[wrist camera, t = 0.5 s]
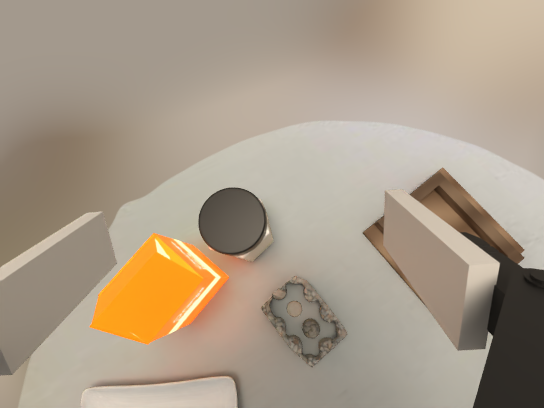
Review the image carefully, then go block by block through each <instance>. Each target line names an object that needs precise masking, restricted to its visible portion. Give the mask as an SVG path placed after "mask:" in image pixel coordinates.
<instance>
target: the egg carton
mask: <svg viewBox="0 0 544 408" xmlns="http://www.w3.org/2000/svg"><path fill="white" fill-rule="evenodd" d="M288 282H291V283H292V284H299V283H301V284H303V285H304V286H305V288H304V291H303V294H304V297H305V298H306V300H308V301H309V302H315V301H317V300H318V301H319V303H320V304H321V307H320V314H321V316H322V318H323V319H324V320H325V321H326V322H332V321H335V322H336V332H337V334H338V335H337V336H336V337H335V338H334V339H331V338H322V339H321V340H320V342H319V349H320V351H321V353H320V354H319V355H318V356H314V355H312V354H307V355H303V354H302V353H301V351H302V343H301V340H300V338H299V337H297V336H296V335H291V336H288V335H287V334H286V329H285V327H286V325H285V321H284V320H283V319H282V318H281V317H275V316H274V315H273V314H272V312H271V310H270V302H271V300H272V298H274V299H277V300H281V299H283V298H284V297H285V296H286V293H287V289H286V286H285V285H286V284H287V283H288ZM288 282H287V283H286V284H285V285H284V286H283V287H282V288H281V289H278V290H277V291H275V292H274V293H273V294H272V295H273V296H272V297H271V298H270V300H269V301H267V302H266V303H265V304H264V305H263V306H262V307H261V308H262V311H263V312H264V313H265V315H266V316H267V317H268V319H269V320H270V322H271V323H272V324H273V326H274V327H275V328H276V330H277V331H278V332H279V334H280V335H281V336H282V338H283V339H284V340H285V342H286V343H287V344H288V346H289V347H290V348H291V349H292V350H293V351H294V352H295V353H296V354H297V355H298V356H300V357H301V358H302V359H303V360H304V361H305V362H306V363H307V364H308V365H309V366H311V367H313V366H314V365H315V364H316V363H317V362H318V361H319V360H321V359H322V358H323V357H324V356H325V355H326V354H327V353H329V352H330V351H331V350H332V349H333V348H334V347H335V346H336V345H338V343H339V342H340V341H341V340H343V339H344V338H345V336H346V335H347V332H346V330H345V328H344V327H343V325H342V324H341V322H340V321H339V320H338V319H337V317H336V316H335V315H334V313H333V312H332V311H331V310H330V309H329V307H328V306H327V304H326V303H325V302H324V301H323V300H322V298H321V297H320V296H319V295H318V293H317V292H316V291H315V290H314V288H313V287H312V286H311V285H310V284H309V283H308V282H307V281H306V280H304V279H301V278H299V277H297V276H294V277H293V278H292V279H291V280H290V281H288ZM287 312H288V314H289V315H290V316H292V317H297V316H299V315H300V314H301V312H302V306H301V304H300V303H299V302H297V301H291V302H289V304H288V306H287ZM302 330H303V332H304V334H305V335H306V337H308V338H315V337H317V336H318V335H319V332H320V327H319V324H318V323H317V322H316V321H315V320H313V319H307V320H305V321H304V323H303V328H302Z"/></svg>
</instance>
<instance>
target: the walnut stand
mask: <svg viewBox="0 0 544 408" xmlns="http://www.w3.org/2000/svg"><path fill="white" fill-rule="evenodd" d="M410 196H412V197H413V198H414V199H416V200H417V201H418V202H420V203H421V204H422V205H424V206H425V207H426V208H428V209H429V210H430V211H432V212H433V213H434V214H436V215H437V216H438V217H440V218H441V219H442V220H444V221H445V222H446V223H447V224H449V225H450V226H451V227H453V228H454V229H455V230H457V231H458V232H467V233H469V234H472V235H474V236H477V237H479V238H481V239H483V240H484V241H485V242H487V243H488V244H490V246H492V247H494V248H495V249H497V250H498V251H499V253H502V254H504V255H505V256H507V257H508V258H509V259H511V260H512V261H514V262H515V263H517V264H518V263H519V262H520V261H522V260H523V259H524V257H523V256H522V255H521V253H522V252H523V251H524V249H523V248H522V247H521V246H520V245H519V244H518V243H517V242H516V241H515V240H514V239H513V238H512V237H511V236H510V235H509V234H508V233H507V232H506V231H505V230H504V229H503V228H502V227H501V226H500V225H499V224H498V223H497V222H496V221H495V220H494V219H493V218H492V217H491V216H490V215H489V214H488V213H487V212H486V211H485V210H484V209H483V208H482V207H481V206H480V205H479V204H478V203H477V202H476V201H475V199H474V198H473V197H472V196H471V195H470V194H469V193H468V192H467V191H466V190H465V189H464V188H463V187H462V186H461V185H460V184H459V183H458V182H457V181H456V180H455V179H454V178H453V177H452V176H451V175H450V174H449V173H448V172H447V171H446V170H445V169H444V168H442V169H440V170H439V171H438V172H437V173H435V174H434V175H433V176H432V177H431V178H429V179H428V180H427V181H426V182H424V183H423V184H422V185H421V186H420V187H418V188H417V189H416V190H415V191H413V192H412V193H411V194H410ZM363 234H364V235H365V236H366V237H367V238H368V240H369V241H370V242H371V243H372V244H373V245H374V247H375V248H376V249H377V250H378V251H379V252H380V253H381V255H382V256H383V257H384V258H385V259H386V260H387V262H388V263H389V264H390V265H391V266H392V267H393V268H394V270H395V271H396V272H397V273H398V274H399V275H400V277H401V278H402V279H403V280H404V281H405V282H406V283H407V285H408V286H409V287H410V288H411V289H412V290H413V292H414V293H415V294H416V295H417V296H418V297H419V295H418V294H417V292H416V291H415V289H414V288H413V287H412V285H411V284H410V282H409V281H408V280H407V278H406V277H405V275H404V274H403V272H402V271H401V270H400V268H399V267H398V265H397V264H396V263H395V261H394V260H393V258H392V257H391V256H390V254H389V253H388V251H387V250H386V248H385V247H384V246H383V236H384V216H383V217H381V218H380V219H379V220H378V221H377V222H375V223H374V224H373V225H372V226H370V227H369V228H368V229H367V230H365V231H364V232H363ZM419 299H420V300H421V301H422V299H421V298H420V297H419ZM422 302H423V301H422ZM423 303H424V302H423ZM426 307H427V306H426Z"/></svg>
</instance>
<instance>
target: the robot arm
mask: <svg viewBox="0 0 544 408" xmlns="http://www.w3.org/2000/svg"><path fill="white" fill-rule="evenodd" d="M383 246H384V247H385V248H386V250H387V251H388V253H389V254H390V256H391V257H392V258H393V260H394V261H395V263H396V264H397V265H398V267H399V268H400V270H401V271H402V272H403V274H404V275H405V277H406V278H407V280H408V281H409V282H410V284H411V285H412V287H413V288H414V289H415V291H416V292H417V294H418V295H419V297H420V298H421V299H422V301H423V302H424V304H425V305H426V306H427V308H428V309H429V311H430V312H431V313H432V315H433V316H434V318H435V319H436V321H437V322H438V323H439V325H440V326H441V328H442V329H443V330H444V332H445V333H446V335H447V336H448V338H449V339H450V340H451V342H452V343H453V345H454V346H455V347H456V349H457V350H474V349H485V347H486V341H487V335H488V331H489V332H490V333H491V334H492V336H493V339H492V343H491V346H490V350H489V353H488V357H487V360H486V364H485V367H484V371H483V374H482V378H481V381H480V385H479V388H478V392H477V395H476V399H475V402H474V406H473V408H544V270H539V269H533V268H522V267H521V266H519V265H518V264H517V263H515V262H514V261H512V260H511V259H509V258H508V257H507V256H505V255H504V254H502V253H499V251H498V250H497V249H495V248H494V247H492V246H490V244H488V243H487V242H485V241H484V240H483V239H481V238H479V237H477V236H474V235H472V234H469V233H467V232H458V231H457V230H455V229H454V228H453V227H451V226H450V225H449V224H447V223H446V222H445V221H444V220H442V219H441V218H440V217H438V216H437V215H436V214H434V213H433V212H432V211H430V210H429V209H428V208H426V207H425V206H424V205H422V204H421V203H420V202H418V201H417V200H416V199H414V198H413V197H412V196H410V195H409V194H408V193H406V192H405V191H404V190H403V189H399V190H386V191H385V208H384V236H383ZM116 264H117V261H116V258H115V254H114V250H113V247H112V243H111V239H110V236H109V232H108V229H107V225H106V222H105V218H104V214H103V212H91V213H86V214H84V215H83V216H81V217H79V218H78V219H76V220H75V221H73V222H72V223H70V224H68V225H67V226H65V227H64V228H62V229H60V230H59V231H57V232H56V233H54V234H52V235H51V236H49V237H48V238H46V239H44V240H43V241H41V242H40V243H38V244H36V245H35V246H33V247H32V248H30V249H29V250H27V251H25V252H24V253H22V254H21V255H19V256H17V257H16V258H14V259H13V260H11V261H9V262H8V263H6V264H5V265H3V266H1V267H0V375H12V374H13V373H14V372H15V371H16V370H17V369H18V368H19V367H20V366H21V365H22V364H23V363H24V362H25V360H26V359H27V358H29V356H30V355H31V354H32V353H33V352H34V351H35V350H36V349H37V348H38V347H39V346H40V345H41V344H42V343H43V342H44V340H45V339H46V338H47V337H48V336H49V335H50V334H51V333H52V332H53V331H54V330H55V329H56V328H57V327H58V326H59V325H60V323H61V322H62V321H63V320H64V319H65V318H66V317H67V316H68V315H69V314H70V313H71V312H72V311H73V310H74V309H75V308H76V306H77V305H78V304H79V303H80V302H81V301H82V300H83V299H84V298H85V297H86V296H87V295H88V294H89V293H90V292H91V290H92V289H93V288H94V287H95V286H96V285H97V284H98V283H99V282H100V281H101V280H102V279H103V278H104V277H105V276H106V275H107V273H108V272H109V271H110V270H111V269H112V268H113V267H114V266H115V265H116Z"/></svg>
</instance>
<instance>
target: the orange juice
mask: <svg viewBox="0 0 544 408" xmlns="http://www.w3.org/2000/svg"><path fill="white" fill-rule="evenodd" d="M228 278H229V277H228V276H227V275H226V274H225V273H224V272H223V271H221V270H220V269H219V268H218V267H217V266H216V265H215V264H214V263H212V262H211V261H210V260H209V259H208V258H207V257H206V256H205V255H203V254H202V253H201V252H200V251H199V250H198V249H197V248H196V247H194V246H193V245H190V244H187V243H184V242H181V241H179V240H175V239H171V238H168V237H165V236H161V235H158V234H155V233H153V234H152V236H151V237H150V238H149V239H148V240H147V241H146V242H145V243H144V245H143V246H142V247H141V248H140V249H139V250H138V251H137V252H136V253H135V255H134V256H133V257H132V258H131V259H130V260H129V261H128V262H127V263H126V265H125V266H124V267H123V268H122V269H121V270H120V271H119V272H118V274H117V275H116V276H115V277H114V278H113V279H112V280H111V281H110V282H109V284H108V285H107V286H106V287H105V288H104V289H103V290H102V291H101V292H100V294H99V295H98V296H99V297H98V301H97V305H96V309H95V313H94V317H93V321H92V324H91V325H90V327H91V328H94V329H98V330H101V331H104V332H108V333H111V334H114V335H118V336H121V337H124V338H128V339H131V340H135V341H138V342H141V343H145V344H149V343H150V342H152V341H154V340H156V339H158V338H160V337H163V336H165V335H167V334H170V333H172V332H174V331H176V330H178V329H180V328H182V327H184V326H186V325H188V324H190V323H191V322H192V321H193V320H194V319H195V317H196V316H197V315H198V314H199V313H200V311H201V310H202V309H203V308H204V307H205V305H206V304H207V303H208V302H209V301H210V299H211V298H212V297H213V296H214V295H215V293H216V292H217V291H218V290H219V289H220V288H221V286H222V285H223V284H224V283H225V282H226V280H227V279H228Z"/></svg>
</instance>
